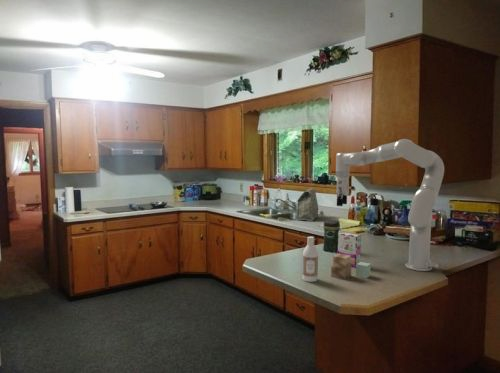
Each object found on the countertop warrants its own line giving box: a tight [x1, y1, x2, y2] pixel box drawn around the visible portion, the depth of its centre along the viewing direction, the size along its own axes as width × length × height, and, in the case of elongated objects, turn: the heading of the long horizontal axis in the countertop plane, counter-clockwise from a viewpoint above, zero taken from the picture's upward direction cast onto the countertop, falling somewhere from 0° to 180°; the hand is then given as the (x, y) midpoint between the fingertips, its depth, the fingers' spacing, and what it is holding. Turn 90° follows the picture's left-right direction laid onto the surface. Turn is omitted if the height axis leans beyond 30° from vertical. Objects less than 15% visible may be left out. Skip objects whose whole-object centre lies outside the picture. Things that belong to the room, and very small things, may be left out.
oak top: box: [332, 253, 351, 269], centre depth 175 cm, size 6×6×5 cm
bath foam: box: [301, 236, 319, 283], centre depth 169 cm, size 7×7×20 cm
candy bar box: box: [337, 231, 362, 268], centre depth 193 cm, size 11×5×16 cm, turn 44°
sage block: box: [355, 261, 372, 279], centre depth 176 cm, size 5×5×6 cm
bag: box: [296, 187, 319, 222], centre depth 327 cm, size 22×16×27 cm
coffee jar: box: [322, 219, 341, 253], centre depth 221 cm, size 10×8×19 cm
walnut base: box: [330, 265, 352, 281], centre depth 175 cm, size 7×7×5 cm
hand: (341, 204), depth 209 cm, fingers open, 9 cm apart
